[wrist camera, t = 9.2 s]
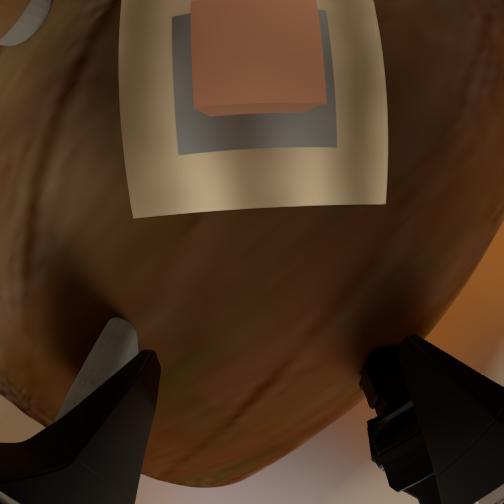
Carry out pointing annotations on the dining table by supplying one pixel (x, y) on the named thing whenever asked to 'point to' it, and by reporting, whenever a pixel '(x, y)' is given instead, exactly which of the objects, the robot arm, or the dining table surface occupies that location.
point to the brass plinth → (250, 122)
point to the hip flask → (103, 361)
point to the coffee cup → (21, 19)
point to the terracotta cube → (256, 56)
